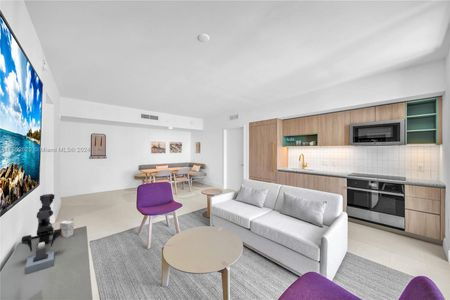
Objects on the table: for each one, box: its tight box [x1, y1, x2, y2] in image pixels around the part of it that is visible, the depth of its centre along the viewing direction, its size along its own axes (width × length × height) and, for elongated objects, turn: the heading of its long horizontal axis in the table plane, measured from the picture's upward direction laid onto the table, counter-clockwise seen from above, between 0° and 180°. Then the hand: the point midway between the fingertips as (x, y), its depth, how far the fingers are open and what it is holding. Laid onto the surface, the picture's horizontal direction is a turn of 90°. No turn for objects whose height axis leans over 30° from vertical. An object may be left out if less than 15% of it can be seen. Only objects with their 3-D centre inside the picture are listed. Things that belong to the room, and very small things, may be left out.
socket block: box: [24, 249, 55, 275], centre depth 111 cm, size 14×12×4 cm
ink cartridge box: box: [59, 216, 75, 238], centre depth 148 cm, size 9×5×15 cm, turn 84°
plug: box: [35, 242, 48, 262], centre depth 111 cm, size 4×4×12 cm
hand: (41, 248), depth 114 cm, fingers open, 9 cm apart
